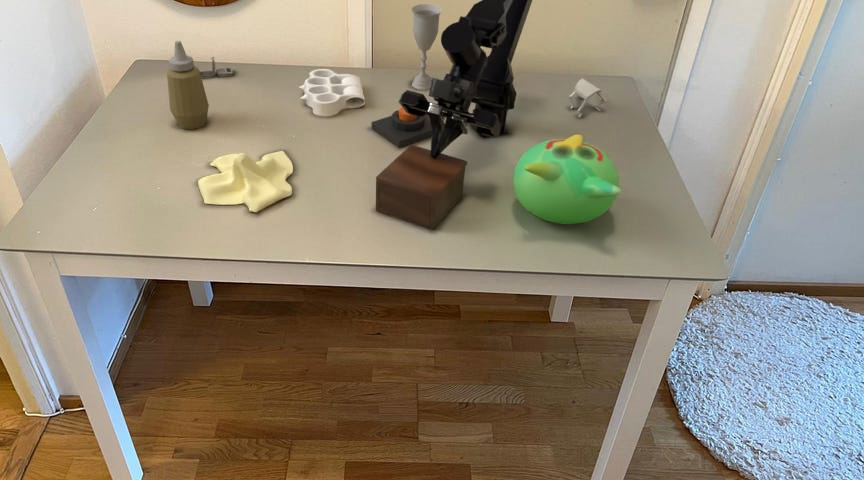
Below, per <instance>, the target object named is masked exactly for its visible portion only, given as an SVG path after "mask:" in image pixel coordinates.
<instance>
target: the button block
mask: <svg viewBox="0 0 864 480" xmlns="http://www.w3.org/2000/svg"><path fill="white" fill-rule="evenodd" d="M371 130H372V131H374V132H375V133H377V134H378V135H379V136H381V137H382V138H384V139H385V140H387V141H388V142H390V143H391V144H392V145H394V146H395V147H396V148H397V149H401V148H404V147H408V146H410V145H414V144H415V143H418V142H421V141H424V140H426V139H429V138H430V139H431V137H432V131H431V122H430V121H429V120H428V118H427V117H426V116H424V117H422V118H421V117H418V118H417V120H415V121H403V120H400V119H399V109H398V110H395V111H394V112H392V114H391V115H389V116H387V117H383V118H380V119H377V120H374V121H371Z"/></svg>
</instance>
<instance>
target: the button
mask: <svg viewBox="0 0 864 480" xmlns="http://www.w3.org/2000/svg"><path fill="white" fill-rule="evenodd" d="M398 110H399V119H400V120H403V121H415V120H417V118H418V116H414V115H411V114H408V113H407V112H406V111H405V110H404V108H403V107H402V106H401V107H399V109H398Z"/></svg>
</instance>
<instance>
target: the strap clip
mask: <svg viewBox="0 0 864 480" xmlns="http://www.w3.org/2000/svg"><path fill="white" fill-rule="evenodd" d="M210 59H211V61H212V62H211V63H212V68H211V69H212V70H206V71H200V75H201V78H202V79H211V78H213V77H215V76H217V77H218V78H223V77H231V76H233V75H234V71H233V68H232V67H221V68H217V69H216V62H215V57H214V56H212V57H211V58H210Z"/></svg>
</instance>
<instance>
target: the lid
mask: <svg viewBox="0 0 864 480" xmlns="http://www.w3.org/2000/svg"><path fill="white" fill-rule="evenodd" d="M467 166H468V160H465V159H462V158H458V157H456V156H451V155H448V154H446V153H443V152H441V153H440V154H439V156H438V157H437V158H433V157H431V149H428V148H425V147H422V146H419V145H418V146H417V145H415V144H410V145H408V146H407V148H406V149H404V151H403V152H402V153H400V154H399V155H398V156H397V157H396V158H395V159H394V160H393V161H391V162H390V163H389V164H388V165H387V166H386V167H385V168H384V169H383V170H382V171H381V172H380V173H379V174H377V176H376V177H375V182H376V181H379V182H382V183H385V184H388V185H391V186H394V187H397V188H401V189H404V190H407V191H410V192H413V193H416V194H419V195H422V196H425V197H428V198H431V199H436V198H437V197H438V196H439V195H440V194H441V193H442V192H443V191H444V190H445V188H446V187H447V186H448V185H449V184H450V183H451V182H452V181H453V180H454V179H455V177H456V176H457V175H458V174H459V173H460V172H461V171H462V170H463V169H464V168H465V169H466V167H467Z"/></svg>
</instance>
